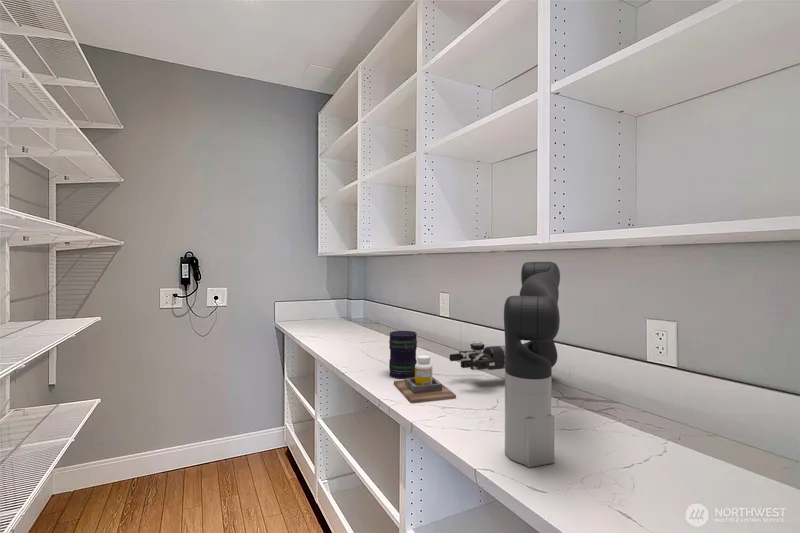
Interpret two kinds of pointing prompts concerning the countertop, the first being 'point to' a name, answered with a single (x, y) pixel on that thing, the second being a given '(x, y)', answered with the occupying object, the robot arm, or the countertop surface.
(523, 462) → the robot arm
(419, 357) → the supplement bottle
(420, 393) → the dock board
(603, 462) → the countertop surface
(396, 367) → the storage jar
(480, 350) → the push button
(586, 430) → the countertop surface
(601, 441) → the countertop surface
